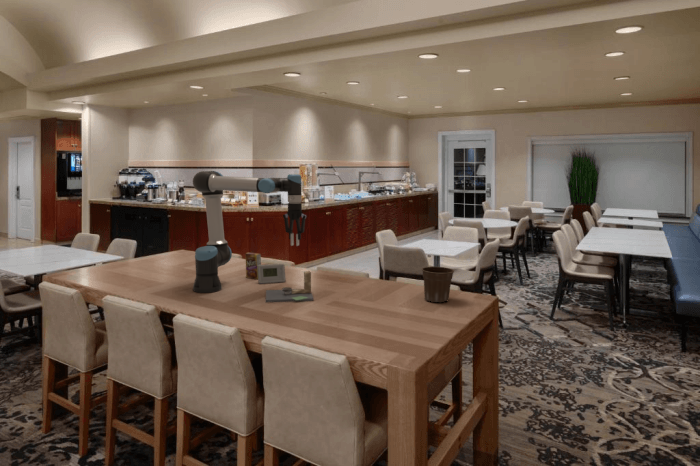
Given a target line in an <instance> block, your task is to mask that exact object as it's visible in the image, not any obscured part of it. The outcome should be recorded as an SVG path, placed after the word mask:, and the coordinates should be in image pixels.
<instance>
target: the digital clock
mask: <svg viewBox="0 0 700 466" xmlns="http://www.w3.org/2000/svg"><path fill="white" fill-rule="evenodd" d="M257 268H258V279H257V280H258V284H260V285H261V284H263V285H268V284H280V283H285V282H286V281H287V278H286V268H285V264H284V263H270V264H269V263H267V264H261V265H258V267H257Z"/></svg>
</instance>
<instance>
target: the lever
mask: <svg viewBox="0 0 700 466" xmlns="http://www.w3.org/2000/svg"><path fill="white" fill-rule="evenodd" d="M292 289H293V288H292V287H289V286H287V287H283V288H282V289H281V290H282V291H285V292H288V291H291V293H292V294H295V293H310V292H312V272H311V271H309V270H308V271H304V272H303V288H297V289H298V290H292Z"/></svg>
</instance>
